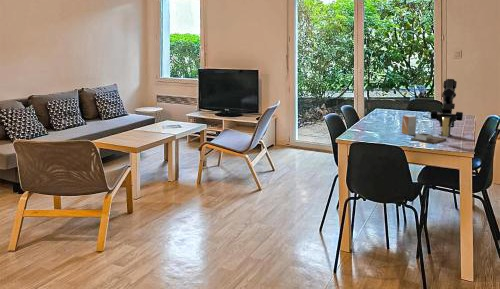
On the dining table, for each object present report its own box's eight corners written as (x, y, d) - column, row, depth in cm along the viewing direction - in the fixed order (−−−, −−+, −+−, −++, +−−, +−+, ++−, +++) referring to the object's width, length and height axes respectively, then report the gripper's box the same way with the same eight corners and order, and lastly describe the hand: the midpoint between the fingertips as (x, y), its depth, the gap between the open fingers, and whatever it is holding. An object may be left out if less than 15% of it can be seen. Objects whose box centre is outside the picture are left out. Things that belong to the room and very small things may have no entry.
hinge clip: (421, 137, 303) (422, 132, 302) (432, 139, 297) (432, 134, 296) (415, 138, 298) (415, 134, 297) (426, 140, 292) (426, 136, 291)
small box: (401, 133, 324) (402, 115, 321) (409, 132, 325) (410, 114, 322) (407, 135, 316) (408, 116, 313) (415, 134, 317) (416, 116, 315)
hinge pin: (443, 135, 289) (444, 116, 286) (449, 136, 285) (451, 117, 283) (439, 136, 286) (440, 117, 283) (445, 137, 283) (447, 118, 280)
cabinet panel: (424, 136, 310) (424, 135, 310) (446, 140, 298) (446, 138, 298) (410, 139, 301) (411, 138, 300) (433, 143, 288) (433, 141, 288)
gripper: (431, 98, 288) (429, 117, 281) (464, 99, 280) (462, 119, 273) (431, 108, 297) (429, 128, 289) (463, 110, 289) (461, 130, 281)
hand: (445, 126), depth 283 cm, fingers closed on hinge pin, 4 cm apart
